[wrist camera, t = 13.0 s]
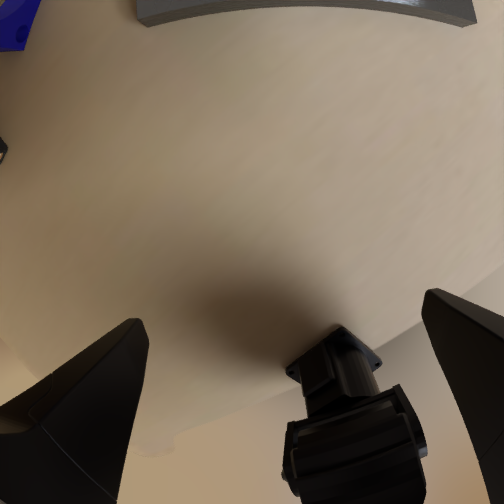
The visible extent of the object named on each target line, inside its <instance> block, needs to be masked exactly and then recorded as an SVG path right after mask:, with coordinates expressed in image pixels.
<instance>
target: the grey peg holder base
mask: <svg viewBox="0 0 504 504" xmlns="http://www.w3.org/2000/svg"><path fill="white" fill-rule="evenodd" d="M136 6H137V20H139V21H140V22H141V23H143V24H144V25H145V26H147V27H151V26H155V25H159V24H163V23H167V22H172V21H176V20H181V19H186V18H191V17H196V16H202V15H207V14H214V13H220V12H228V11H236V10H245V9H255V8H269V7H290V6H324V7H345V8H358V9H369V10H378V11H385V12H393V13H399V14H405V15H411V16H416V17H421V18H426V19H431V20H435V21H439V22H443V23H447V24H451V25H455V26H459V27H465V26H469V25H472V24H476V23H477V19H476V15H475V11H474V7H473V3H472V0H136Z"/></svg>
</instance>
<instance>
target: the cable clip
mask: <svg viewBox="0 0 504 504" xmlns="http://www.w3.org/2000/svg"><path fill="white" fill-rule="evenodd" d="M40 2H41V0H5V2H4V3H3V4H2V6H1V7H0V52H6V51H23V50H24V48H25V44H26V41H27V38H28V35H29V32H30V29H31V26H32V23H33V20H34V17H35V15H36V12H37V9H38V7H39V4H40Z"/></svg>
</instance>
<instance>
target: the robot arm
mask: <svg viewBox="0 0 504 504" xmlns="http://www.w3.org/2000/svg"><path fill="white" fill-rule="evenodd" d="M421 315H422V319H423V322H424V325H425V327H426V330H427V332H428V335H429V338H430V340H431V344H432V347H433V349H434V352H435V355H436V357H437V359H438V362H439V364H440V366H441V368H442V370H443V372H444V375H445V377H446V379H447V381H448V384H449V386H450V388H451V391H452V393H453V395H454V398H455V400H456V403H457V405H458V407H459V410H460V412H461V415H462V417H463V420H464V423H465V425H466V428H467V430H468V433H469V436H470V439H471V442H472V444H473V447H474V450H475V453H476V456H477V459H478V461H479V465H480V469H481V472H482V475H483V479H484V482H485V485H486V489H487V492H488V496H489V500H490V504H504V317H503V316H501V315H498V314H496V313H494V312H492V311H490V310H487V309H485V308H483V307H481V306H478V305H476V304H474V303H472V302H469V301H467V300H464V299H462V298H460V297H458V296H455V295H453V294H451V293H448V292H446V291H444V290H441V289H439V288H434V289H428V290H427V291H426V292H425V296H424V301H423V306H422V311H421ZM340 333H343V334H341V335H340ZM148 349H149V339H148V336H147V333H146V330H145V327H144V325H143V322H142V320H141V319H139V318H129V319H127V320H125V321H124V322H122V323H121V324H120V325H118V326H117V327H115V328H114V329H112V330H111V331H110V332H108V333H107V334H105V335H104V336H103V337H101V338H100V339H98V340H97V341H95V342H94V343H93V344H91V345H90V346H88V347H87V348H86V349H84V350H83V351H81V352H80V353H79V354H77V355H76V356H74V357H73V358H72V359H70V360H69V361H67V362H66V363H65V364H63V365H62V366H60V367H59V368H58V369H56V370H55V371H53V373H50V374H49V375H48V376H46V377H45V378H44V379H42V380H41V381H39V382H38V383H36V384H35V385H34V386H32V387H31V388H29V389H27V390H26V391H24V392H23V393H21V394H20V395H18V396H16V397H15V398H13V399H11V400H10V401H8V402H7V403H5V404H3V405H2V406H0V504H117V501H116V500H117V498H118V493H119V487H120V483H121V478H122V473H123V467H124V463H125V458H126V454H127V449H128V445H129V440H130V436H131V432H132V428H133V423H134V419H135V415H136V411H137V407H138V403H139V399H140V395H141V392H142V387H143V382H144V376H145V369H146V362H147V356H148ZM381 365H382V361H381V359H380V358H379V357H378V356H377V355H376V354H375V353H373V352H372V351H371V350H370V349H369V348H368V347H367V346H366V345H364V344H363V343H362V342H361V341H360V340H359V339H357V338H356V337H355V336H354V335H353V334H352V333H351V332H349V331H348V330H347V329H346V328H344V327H341V328H338V329H337V330H335V331H334V332H333V333H332V334H330V335H329V336H328V337H327V338H325V339H324V340H323V341H321V342H320V343H319V344H317V345H316V346H315V347H313V348H312V349H311V350H310V351H308V352H307V353H305V354H304V355H303V356H301V357H300V358H299V359H297V360H296V361H295V362H293V363H292V364H290V365H289V366H288V367H287V368H286V369H285V371H286V375H287V376H289V377H290V378H292V379H293V380H295V381H297V382H298V383H300V384H301V387H302V393H303V397H305V404H306V410H307V417H308V418H306V419H303V420H299V421H292V422H288V423H287V431H286V434H285V445H284V456H283V465H282V466H283V470H282V473H281V475H282V478H283V480H285V481H286V482H288V484H289V487H290V489H291V491H292V493H293V494H294V495H295V496H296V497H300V499H301V502H302V504H423V503H424V500H425V496H426V480H425V476H424V472H423V468H422V464H421V460H420V459H421V458H423V457H425V456H427V454H428V453H427V444H426V440H425V436H424V433H423V430H422V427H421V424H420V421H419V419H418V417H417V415H416V413H415V411H414V409H413V407H412V405H411V404H410V402H409V400H408V398H407V397H406V395H405V393H404V391H403V389H402V388H401V386H400V384H397V385H395V386H393V388H391V389H389V390H386V391H384V392H381V393H380V390H379V388H378V385H377V382H376V380H375V377H374V375H373V371H375V370H376V369H378V368H379V367H380V366H381Z"/></svg>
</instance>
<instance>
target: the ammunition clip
mask: <svg viewBox="0 0 504 504" xmlns="http://www.w3.org/2000/svg"><path fill="white" fill-rule="evenodd" d="M7 150H8V147H7V145H6V144H5V143H4V141H3V140H2V139H1V137H0V164H1V162H2V160H3V158H4V156H5V154H6V152H7Z"/></svg>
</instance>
